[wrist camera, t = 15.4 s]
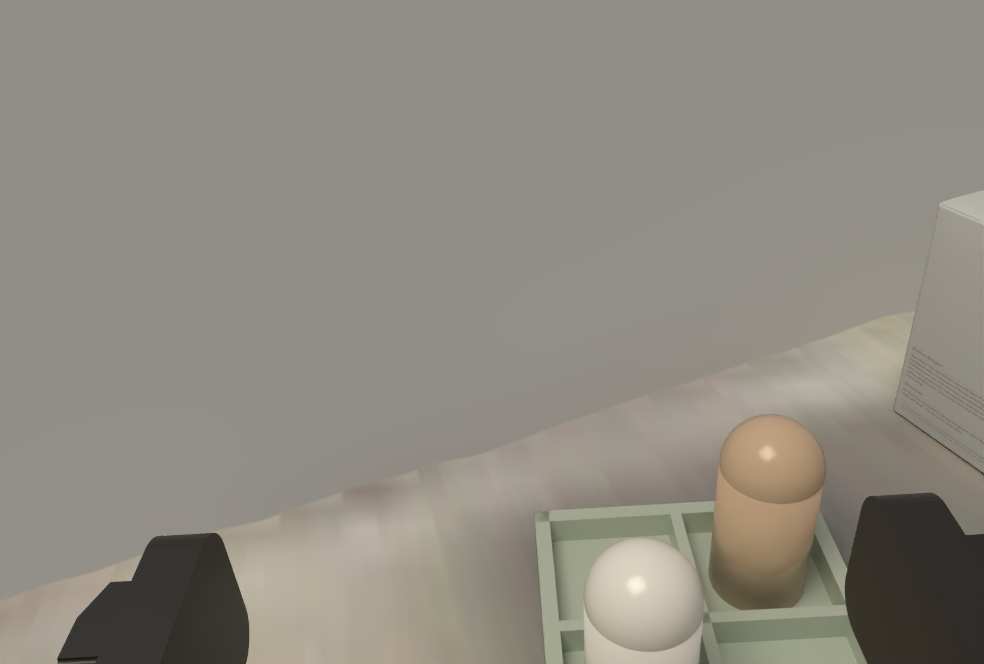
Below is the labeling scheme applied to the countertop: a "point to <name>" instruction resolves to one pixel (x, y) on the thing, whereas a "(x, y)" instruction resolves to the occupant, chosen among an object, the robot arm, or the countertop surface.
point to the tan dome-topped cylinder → (765, 512)
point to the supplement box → (950, 335)
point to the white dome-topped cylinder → (642, 605)
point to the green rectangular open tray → (726, 630)
